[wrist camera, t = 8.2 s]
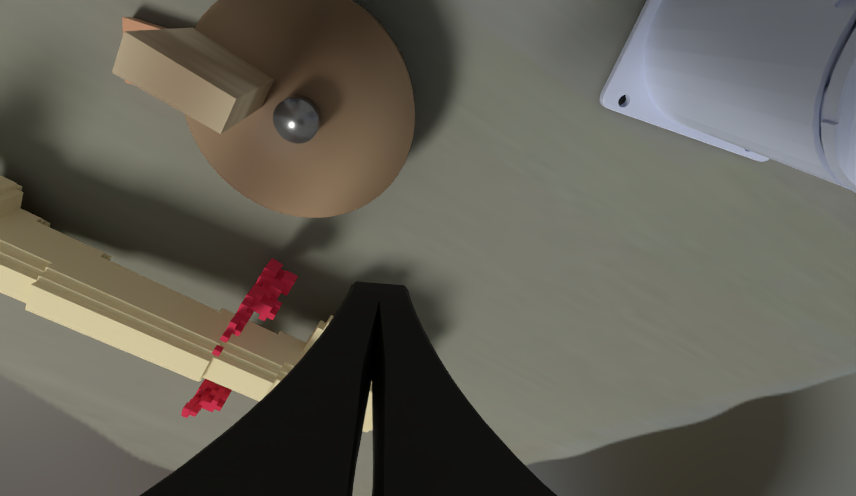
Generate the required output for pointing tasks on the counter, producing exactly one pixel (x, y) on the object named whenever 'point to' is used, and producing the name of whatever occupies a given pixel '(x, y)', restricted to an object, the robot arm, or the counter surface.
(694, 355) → the counter surface
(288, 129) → the pivot pin
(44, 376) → the counter surface
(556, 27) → the counter surface
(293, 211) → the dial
